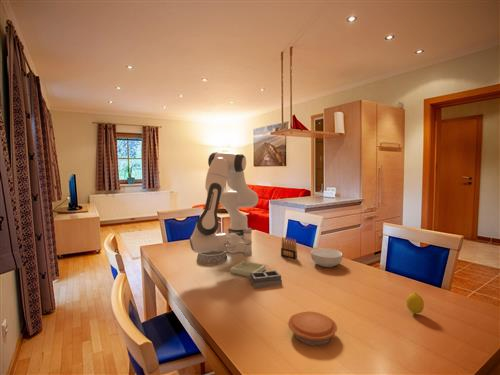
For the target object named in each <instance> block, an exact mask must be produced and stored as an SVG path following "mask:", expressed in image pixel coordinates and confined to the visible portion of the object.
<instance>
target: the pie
mask: <svg viewBox="0 0 500 375" xmlns="http://www.w3.org/2000/svg"><path fill="white" fill-rule="evenodd" d="M287 325H288V328H289V329H290V331H291V332H292V333H293V335H294V336H295V337H296V339H297V340H298V341H300V342H301V343H303V344H306V345H309V346H320V345H324V344H327V343H328V342H329V341H330V340H331V339H332V337H333V336H334V335H335V334H336V332H337V330H338V325H337V324H336V322H335V321H334V320H333V319H332V318H331V317H329V316H327V315H326V314H323V313H320V312H316V311H302V312H298V313H295V314H292V315H291V316H290V318H289V320H288V323H287Z"/></svg>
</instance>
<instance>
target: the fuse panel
mask: <svg viewBox="0 0 500 375" xmlns="http://www.w3.org/2000/svg"><path fill="white" fill-rule="evenodd" d="M249 281H250V283H251V285H252V286H253V288H254V289H259V288H260V289H261V288H265V287H266V288H268V287H274V286H281V285H282V284H283V281H282V275H281V274H280V273H279V272H278V271H277V270H276V269H275V270H267V271H266V270H265V271H264V272H255V273H250V277H249Z"/></svg>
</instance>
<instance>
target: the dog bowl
mask: <svg viewBox="0 0 500 375" xmlns="http://www.w3.org/2000/svg"><path fill="white" fill-rule="evenodd" d="M196 256H197V257H196V262H197V263H198V262H199V264H200V265H201V264H202V265H218V264H219V265H220V264H223V263H225V262H226V258H228V254H227V252H226V251H219V252H216V251H212V252H208V253H197V255H196Z"/></svg>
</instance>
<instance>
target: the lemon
mask: <svg viewBox="0 0 500 375" xmlns="http://www.w3.org/2000/svg"><path fill="white" fill-rule="evenodd" d="M406 307H407V309H408V311H410V312H411V313H413V314H414V315H417V314H420V313H422V312H423V311H424V307H425V303H424V298H423V297H422V296H421V295H420V294H418V292H417V293H416V292H413V293H410V294H409V295H408V296H407V298H406Z"/></svg>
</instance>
